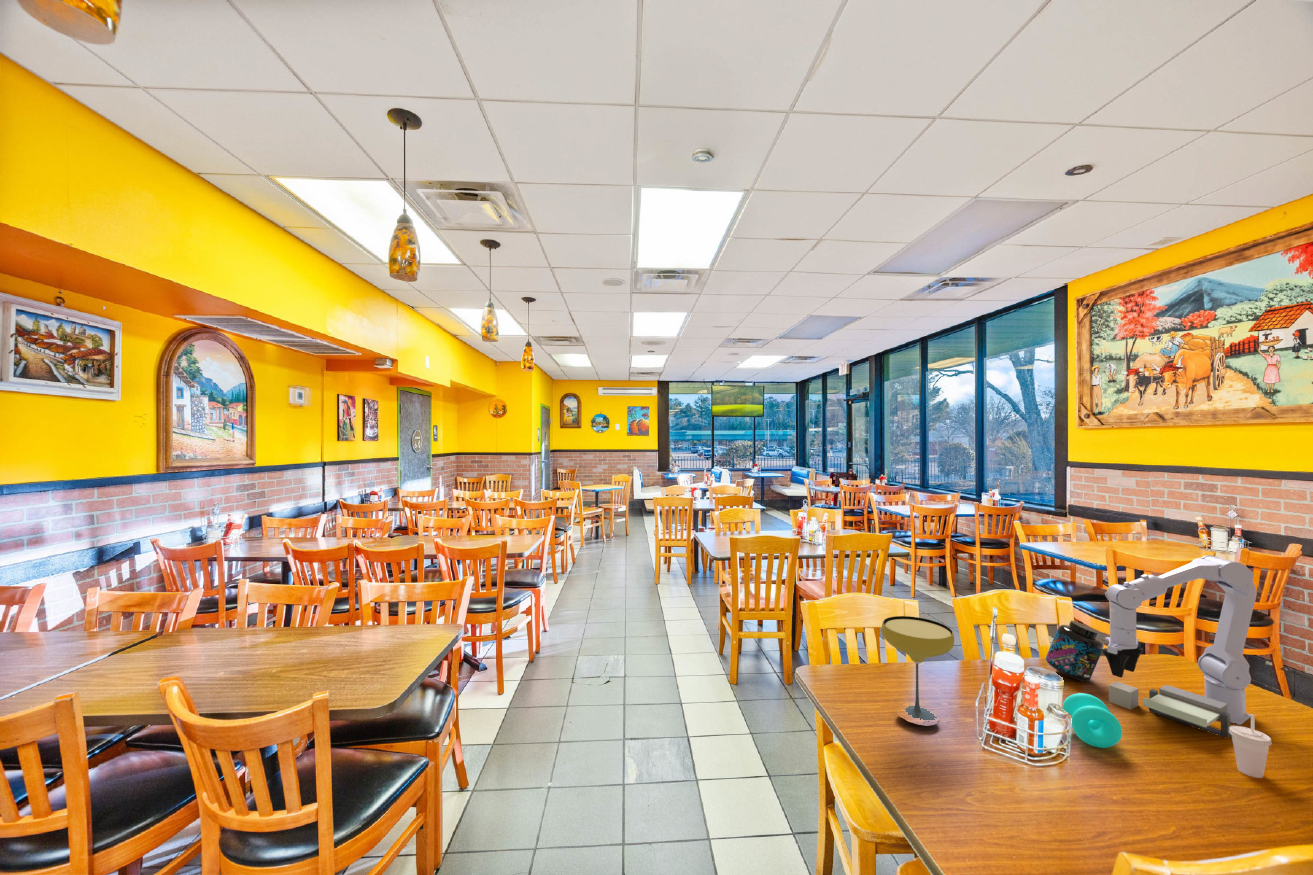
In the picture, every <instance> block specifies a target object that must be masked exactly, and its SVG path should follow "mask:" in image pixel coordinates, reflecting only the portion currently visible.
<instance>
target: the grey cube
mask: <svg viewBox="0 0 1313 875" xmlns="http://www.w3.org/2000/svg"><path fill="white" fill-rule="evenodd" d="M1108 703H1111V704H1114V705H1117V706H1119V707H1122V708H1124V709H1128V710H1133V709H1134V708H1136V707H1138V706H1139V688H1138V687H1134V686H1132V685H1128V684H1125V683H1122V682H1120V681H1114V682H1113V683H1109V685H1108Z"/></svg>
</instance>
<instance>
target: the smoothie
mask: <svg viewBox="0 0 1313 875" xmlns="http://www.w3.org/2000/svg"><path fill="white" fill-rule="evenodd" d="M1250 715H1251V717H1250V728H1249V727H1246V726H1241V725H1230V727H1229V732H1230V734H1231V740H1232V744H1233V745H1232V746H1233V750H1234V751H1233V752H1234V755H1235V761H1236V762H1235V763H1236V768H1237V770H1238V772H1240V773H1241V772H1242V774H1244V775H1245V776H1248V777H1252V778H1257V779H1258V778H1259V779H1262V778H1264V774H1265V771H1266V770H1265V769H1266V765H1267V758H1268V754H1269V750H1270V749H1269V748H1270V746H1271V745H1272V744H1273V742H1272V738H1271V737H1270V736H1269V735H1267V734H1266V733H1264V732H1262V731H1259V730H1257V729H1255V728H1256V727H1255V726H1256V725H1255V723H1256V722H1255V719H1256V718H1255V714H1253V713H1250Z"/></svg>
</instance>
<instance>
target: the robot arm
mask: <svg viewBox="0 0 1313 875" xmlns="http://www.w3.org/2000/svg"><path fill="white" fill-rule="evenodd" d="M1254 575H1255V573H1254V572H1253V571H1252V570H1251V569H1250V568H1248V567H1247V566H1246V565H1245V564H1243V563H1242V562H1239V561H1232V560H1230V559H1229V560H1228V559H1225V558H1221V557H1219V556H1215V555H1209V554H1207V555H1203V556H1202V557H1198V558H1194V559H1192V561H1191V562H1189V563H1187V564H1185V565H1182V566H1180V567H1178V568H1175V569H1173V570H1170V571H1168V572H1166V573H1163V574H1160V575H1158V576H1156V575H1154V574H1142V575H1140V577H1139V578H1136V579H1134V580H1131V581H1125V582H1123V584H1117V583H1116V584H1112V585H1110V586H1109V587H1108V588H1107V590H1106V591H1105V592H1104V595H1105V597H1106V599H1107V600H1108V601H1109V636H1107V637H1104V640H1105V641H1107V642H1108V645H1107V647H1105V648H1104V647H1103V650H1102V654H1103V655H1104V656H1105V658H1106V660H1107V662H1108V665H1109V668H1110V671H1111V675H1112V676H1115V677H1118V678H1123V677H1124V674H1125V671H1128V672H1131V673H1134V672H1135V670H1136V666H1137V664H1138V661H1139V658H1140V656H1141V654H1142V653H1143V652H1144V648H1143V647H1141V646H1139V638H1137V609H1138V608H1139V607H1140V606H1142V603H1143V602H1145V601H1147V600H1151V599H1153V598H1157V597H1160V596H1161V595H1164V594H1166V593H1167V590H1168V588H1172V587H1174V586H1178V585H1182V584H1184V583H1189V582H1191V581H1196V580H1198V579H1202V580H1206V581H1207V580H1208V581H1213V582H1215V583H1216V584H1217V585H1218V586H1219V587H1220V588H1221V589H1222V590H1223V591H1224V594H1225V595H1224V598H1223V603H1222V607H1221V610H1220V616H1219V619H1218V623H1217V627H1216V632H1215V637H1214V640H1213V644H1211V645H1210V646H1207V647H1205V648H1204V651H1203V654H1202V655H1201V656H1199V657H1198V660H1197V667H1198V669H1199V670H1200V671H1201V672H1202V673H1203V677H1204V697H1207V698H1210V699H1214V700H1217V701H1220V702H1223V703H1226V704H1227V708H1228V713H1229V714H1230V723H1233V724H1235V723H1236V724H1235V725H1237V726H1241V725H1242V724H1244V723H1245V722H1246V721H1248V720H1249V719H1251V713H1247V698H1246V697H1247V693H1246V691H1245V688H1247V687H1249V686H1250V684H1251V681H1252V676H1251V674H1250V667H1251V666H1250V663H1249V662H1248V661H1247V659H1246V657H1245V656H1244V649H1245V645H1246V642H1247V640H1246V639H1247V636H1248V632H1249V628H1250V623H1251V619H1252V615H1253V611H1254V607H1255V603H1256V599H1257V589H1256V586H1255V583H1254V581H1253V580H1254Z"/></svg>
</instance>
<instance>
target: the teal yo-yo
mask: <svg viewBox="0 0 1313 875" xmlns="http://www.w3.org/2000/svg"><path fill="white" fill-rule="evenodd" d="M1063 709H1064V710H1065V711H1066V712H1068V713H1069V715H1071V718H1072V725H1071V727H1072V730H1073V732H1074V734H1076V736H1077V737H1078V738H1079V739H1080V740H1081V741H1083V742H1084V743H1085V744H1088V745H1089V746H1091V747H1092V746H1093V747H1094V748H1101V749H1105V748H1111V747H1114V746H1115V745H1117V744H1118V743H1119V742H1120V741H1121V739H1122V736H1123V729H1122V725H1121V723H1120V721H1119V720H1118V718H1116V716H1115V715H1114V714H1113V713H1112V712H1110V710H1109V707H1108V706H1107V705H1106V704H1105V703H1104V701H1102V700H1101V699H1100V698H1098V697H1096V696H1095V695H1092V694H1088V693H1084V692H1083V693H1082V692H1078V693H1073V694H1070V695H1069V696H1067V697H1066V699H1065V700H1064V701H1063V703H1062V710H1063Z"/></svg>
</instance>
